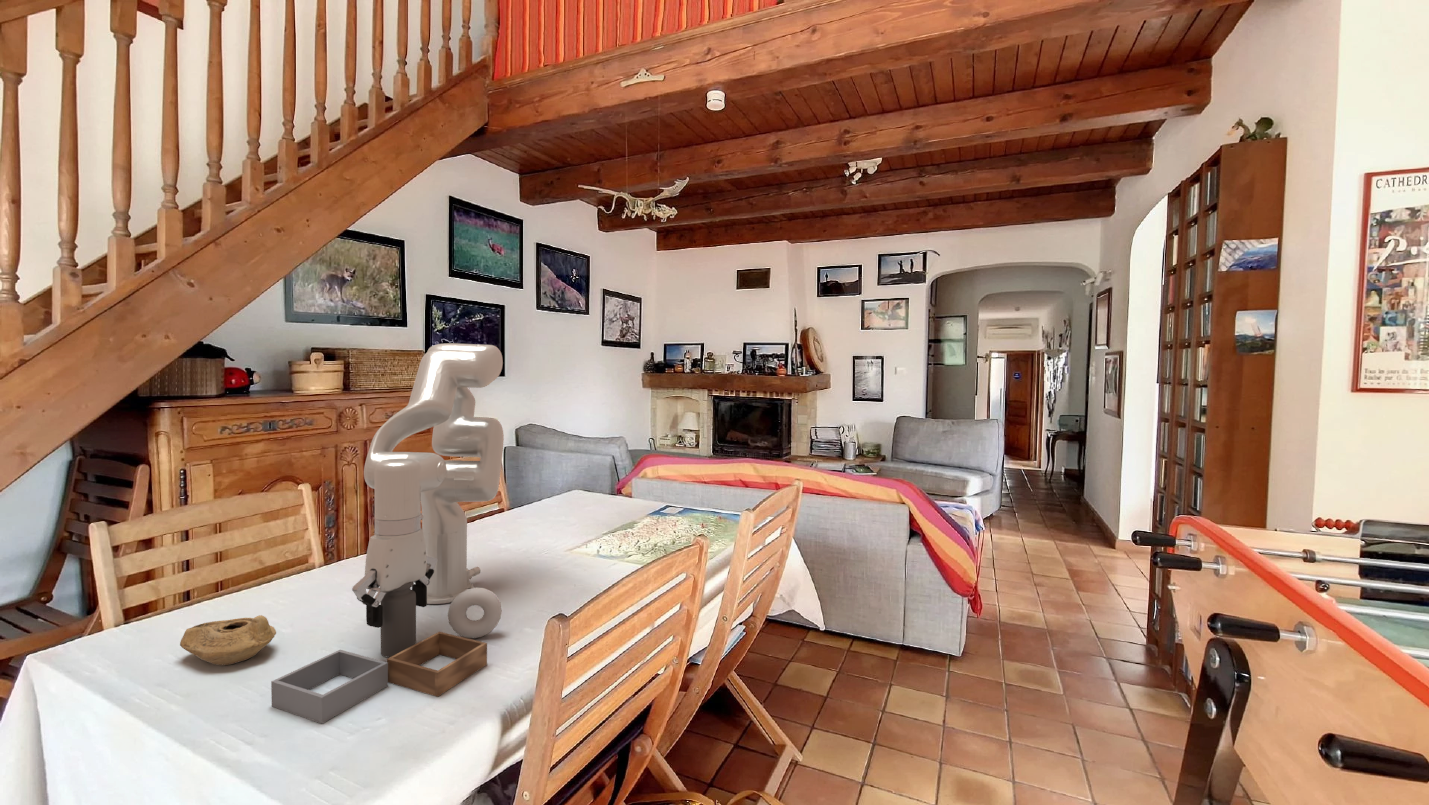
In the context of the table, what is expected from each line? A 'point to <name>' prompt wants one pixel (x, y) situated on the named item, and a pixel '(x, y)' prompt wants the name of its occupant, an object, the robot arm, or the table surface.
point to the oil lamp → (228, 639)
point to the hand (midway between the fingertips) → (397, 615)
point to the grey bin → (320, 708)
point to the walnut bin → (433, 681)
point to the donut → (474, 627)
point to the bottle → (398, 620)
